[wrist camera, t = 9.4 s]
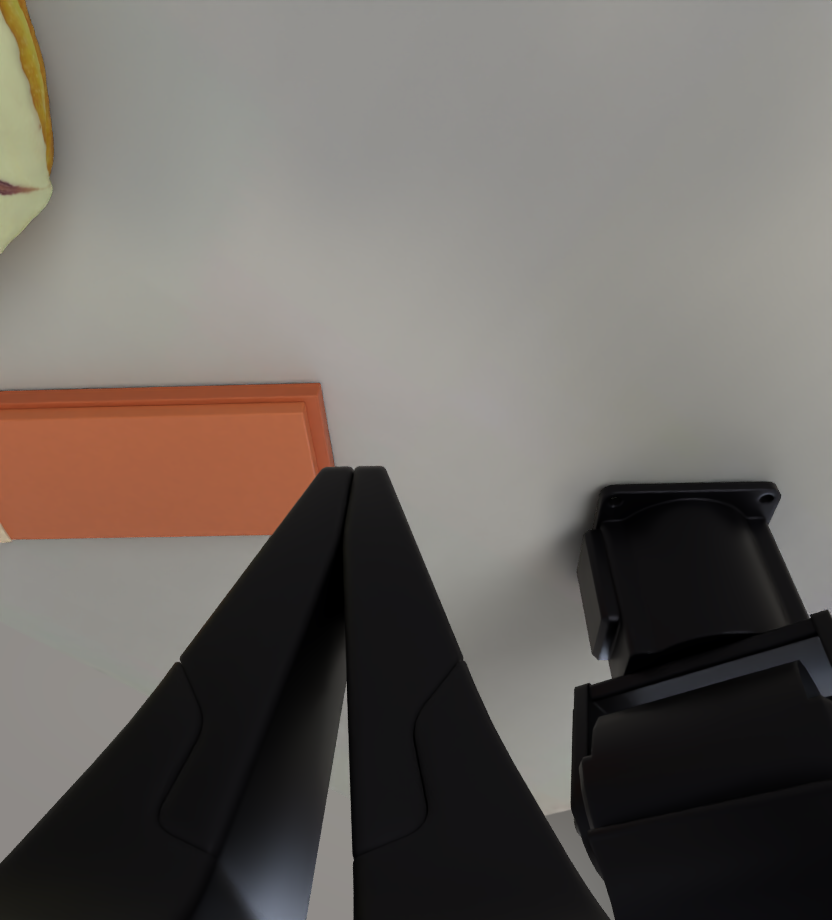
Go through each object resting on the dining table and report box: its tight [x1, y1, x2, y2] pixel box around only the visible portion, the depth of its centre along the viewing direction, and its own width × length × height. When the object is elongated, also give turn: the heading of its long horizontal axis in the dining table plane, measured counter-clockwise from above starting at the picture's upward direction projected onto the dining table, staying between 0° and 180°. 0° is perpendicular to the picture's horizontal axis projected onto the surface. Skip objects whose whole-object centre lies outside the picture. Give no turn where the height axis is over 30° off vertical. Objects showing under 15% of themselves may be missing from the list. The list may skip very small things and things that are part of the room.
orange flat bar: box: [0, 383, 335, 542], centre depth 25 cm, size 14×6×1 cm, turn 92°
